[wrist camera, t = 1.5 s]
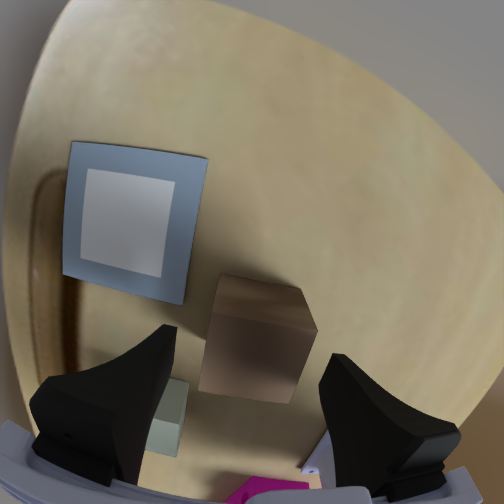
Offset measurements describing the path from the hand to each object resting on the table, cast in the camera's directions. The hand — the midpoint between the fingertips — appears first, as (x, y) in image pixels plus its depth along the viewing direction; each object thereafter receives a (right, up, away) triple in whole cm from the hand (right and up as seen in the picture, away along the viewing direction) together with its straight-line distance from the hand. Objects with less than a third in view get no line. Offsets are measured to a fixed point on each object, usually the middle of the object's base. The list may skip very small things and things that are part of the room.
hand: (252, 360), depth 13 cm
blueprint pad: (-7, +6, +2) cm, 10 cm away
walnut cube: (0, +1, +4) cm, 4 cm away
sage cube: (-7, -5, +6) cm, 10 cm away
